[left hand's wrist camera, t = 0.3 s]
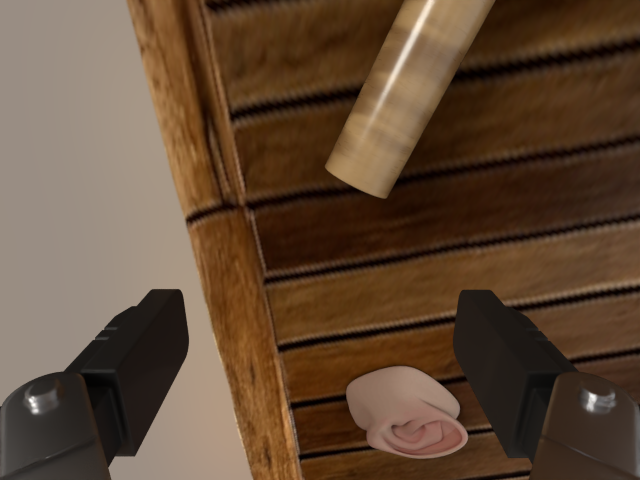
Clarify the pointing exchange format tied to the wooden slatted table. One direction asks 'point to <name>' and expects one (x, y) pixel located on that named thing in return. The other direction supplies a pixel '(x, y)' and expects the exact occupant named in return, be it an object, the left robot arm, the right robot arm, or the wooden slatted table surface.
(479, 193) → the wooden slatted table surface
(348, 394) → the anatomical model
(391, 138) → the rod
